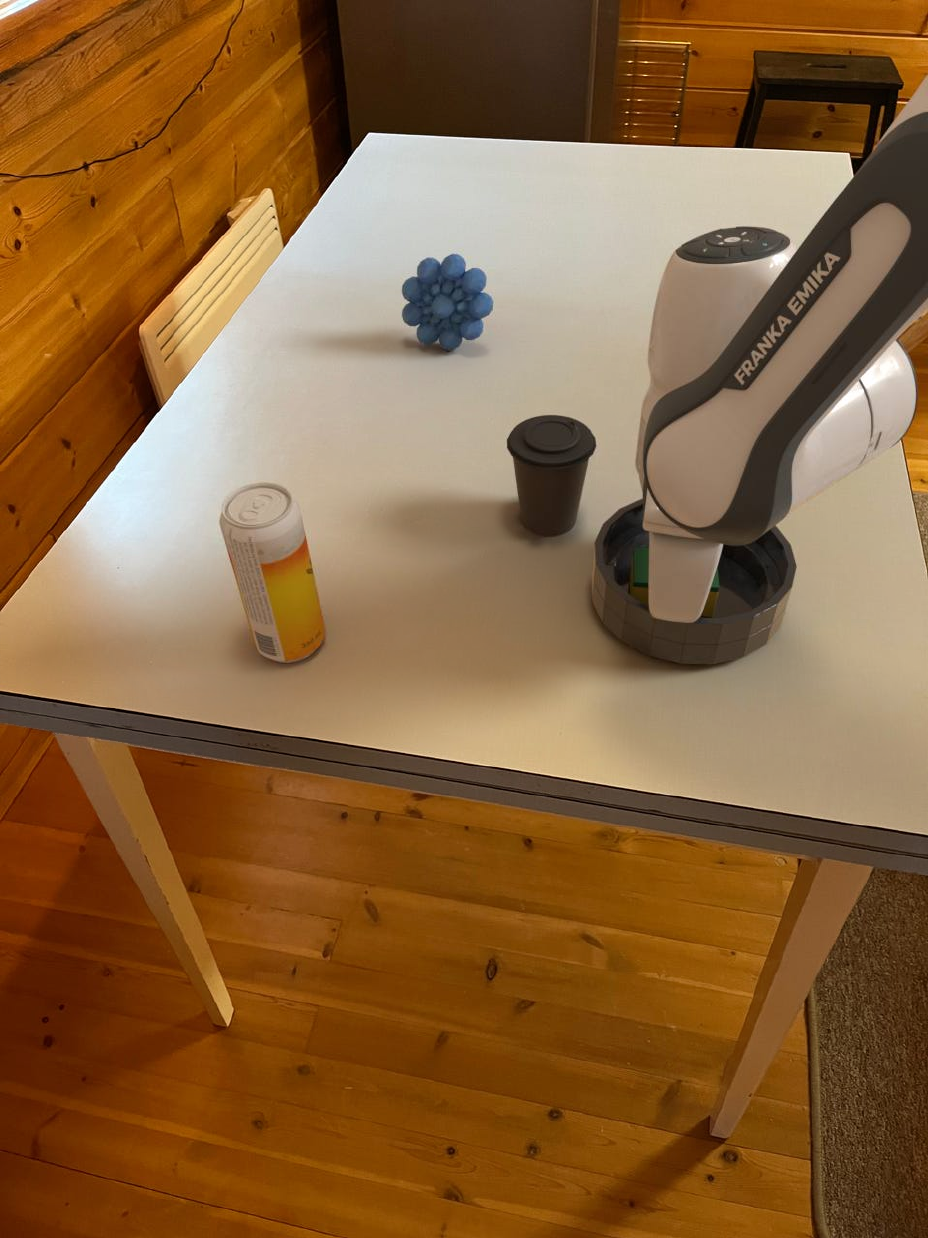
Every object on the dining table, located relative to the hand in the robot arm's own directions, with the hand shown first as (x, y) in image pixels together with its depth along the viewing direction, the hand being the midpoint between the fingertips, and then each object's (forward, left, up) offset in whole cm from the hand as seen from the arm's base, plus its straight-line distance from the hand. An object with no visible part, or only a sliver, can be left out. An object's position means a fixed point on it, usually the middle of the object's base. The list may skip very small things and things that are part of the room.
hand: (673, 582), depth 79 cm
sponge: (0, 0, -2) cm, 2 cm away
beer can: (+33, +6, -3) cm, 33 cm away
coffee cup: (+11, -11, -3) cm, 16 cm away
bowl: (-1, 0, -2) cm, 3 cm away
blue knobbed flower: (+23, -44, -3) cm, 50 cm away
